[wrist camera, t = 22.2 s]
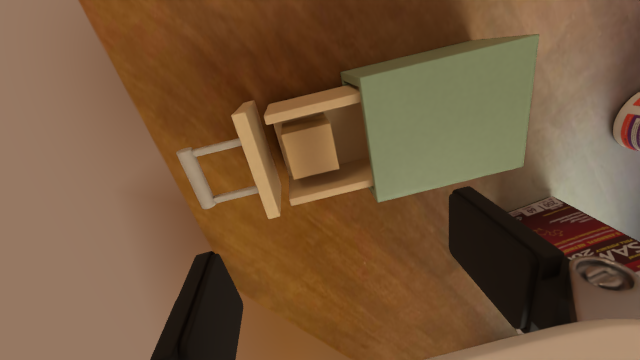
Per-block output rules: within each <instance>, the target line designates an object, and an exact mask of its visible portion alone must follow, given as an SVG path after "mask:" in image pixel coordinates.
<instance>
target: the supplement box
mask: <svg viewBox="0 0 640 360" xmlns="http://www.w3.org/2000/svg"><path fill="white" fill-rule="evenodd" d="M509 214H510V215H511V216H513V217H514V218H516V219H517V220H519V221H520V222H521V223H523V224H524V225H526V226H527V227H529V228H530V229H531V230H533V231H534V232H536V233H537V234H538V235H540V236H541V237H543V238H544V239H546V240H547V241H548V242H550V243H551V244H553V245H554V246H556V247H557V248H558V249H560V250H561V251H563V252H564V255H565V256H566V257H568V258H569V259H570V260H572V259H573V258H576V257H578V256H587V255H589V256H599V257H603V258H607V259H611V260H613V261H616V262H618V263H621V264H623V265H624V266H626V267H628V268H630V269H631V270H633V271H634V272H635V273H636V274H637V275H639V277H640V242H639V241H637V240H635V239H633V238H631V237H629V236H627V235H625V234H623V233H622V232H620V231H618V230H616V229H614V228H612V227H610V226H608V225H606V224H604V223H602V222H601V221H599V220H597V219H595V218H593V217H591V216H589V215H587V214H585V213H583V212H581V211H580V210H578V209H576V208H574V207H572V206H570V205H568V204H566V203H564V202H562V201H561V200H558V199H557V198H555V197H553V196H552V197H549V198H547V199H544V200H542V201H539V202H536V203H534V204H531V205H528V206H526V207H523V208H520V209H517V210H515V211H512V212H509Z"/></svg>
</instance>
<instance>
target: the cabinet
mask: <svg viewBox="0 0 640 360" xmlns="http://www.w3.org/2000/svg"><path fill="white" fill-rule="evenodd" d="M538 40H539V34H533V35H522V36H512V37H501V38H491V39H480V40H471V41H467V42H463V43H459V44H455V45H450V46H446V47H442V48H438V49H434V50H430V51H426V52H422V53H417V54H413V55H409V56H405V57H401V58H397V59H393V60H389V61H385V62H380V63H376V64H372V65H368V66H364V67H360V68H356V69H352V70H348V71H343V72H340V74H341V80H342V85H343V86H346V85H350V84H353V85H356V86H358V87H359V91H360V98H361V105H362V112H363V118H364V125H365V132H366V139H367V146H368V152H369V159H370V166H371V173H372V179H373V186H370V187H368V188H369V189H370V191H371V193H372V194H373V196H374V197H375V199H376V200H377V202H382V201H386V200H390V199H394V198H398V197H402V196H406V195H410V194H414V193H418V192H422V191H426V190H430V189H434V188H438V187H442V186H446V185H450V184H454V183H459V182H463V181H467V180H471V179H475V178H479V177H483V176H487V175H491V174H495V173H499V172H503V171H507V170H511V169H515V168H519V167H523V165H524V156H525V148H526V140H527V131H528V123H529V115H530V107H531V98H532V90H533V82H534V73H535V65H536V57H537V49H538Z"/></svg>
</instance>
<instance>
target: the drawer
mask: <svg viewBox="0 0 640 360" xmlns="http://www.w3.org/2000/svg"><path fill="white" fill-rule="evenodd" d="M320 114H325V116H326V117H327V119H328V121H329V122H330V124H331V129H332V134H333V139H334V144H335V149H336V154H337V159H338V164H339V169H335V170H331V171H327V172H323V173H319V174H315V175H311V176H307V177H303V178H299V179H295V180H294V179H293V176H292V172H291V169H290V165H289V162H288V158H287V155H286V151H285V148H284V144H283V141H282V137H281V129H282V124H283V123H287V122H291V121H295V120H300V119H304V118H308V117H312V116H316V115H320ZM231 117H232V119H233V122H234V125H235V128H236V131H237V133H238V136H239V138H238V139H234V140H230V141H226V142H222V143H218V144H214V145H209V146H205V147H201V148H197V149H194V150H193V149H192V148H191V147H189V148H184V149H182V150H179V151H178V152H176V154H177V156H178V158H179V160H180V162H181V164H182V167H183V169H184V171H185V173H186V175H187V177H188V179H189V181H190V183H191V185H192V187H193V190H194V192H195V194H196V196H197V198H198V200H199V202H200V204H201V206H202V208H203V209H209V208H211V207H213V206H214V205H216V203H219V202H223V201H227V200H231V199H235V198H239V197H243V196H247V195H251V194H255V193H259V194H260V197H261V200H262V203H263V205H264V208H265V211H266V214H267V217H268V219H271V218H275V217H279V216H280V207H281V183H280V180H279V177H278V174H277V170H276V167H275V164H274V161H273V158H272V155H271V151H270V148H269V145H268V142H267V139H266V136H265V132H264V129H263V126H262V123H261V120H260V117H259V113H258V110H257V107H256V104H255V101H254V100H253V101H249V102H245V103H243V104H242V105H241V106H240V107H239V108H238V109H237V110H236V111H235V112H234V113H233V114H232V115H231ZM264 119H265V123H266V125H269V124H274V128H275V131H276V135H277V138H278V141H279V145H280V148H281V151H282V155H283V158H284V162H285V165H286V168H287V172H288V175H289V200H290V204H291V206H293V205H297V204H301V203H305V202H309V201H314V200H318V199H322V198H326V197H330V196H334V195H338V194H342V193H346V192H350V191H354V190H358V189H362V188H366V187H370V186H373V179H372V173H371V166H370V159H369V152H368V146H367V139H366V132H365V125H364V118H363V112H362V105H361V98H360V91H359V87H358V86H356V85H353V84H350V85H346V86H342V87H338V88H334V89H330V90H326V91H321V92H317V93H313V94H309V95H305V96H301V97H297V98H293V99H289V100H284V101H280V102H276V103H272V104H269V105H268V107H267V110H266V112H265V114H264ZM238 146H242V147H243V150H244V153H245V156H246V158H247V161H248V164H249V167H250V169H251V172H252V175H253V178H254V181H255V183H256V186H252V187H248V188H244V189H240V190H236V191H232V192H228V193H224V194H220V195H216V196H213V194H212V191H211V189H210V187H209V185H208V183H207V180H206V178H205V176H204V174H203V171H202V169H201V167H200V165H199V162H198V160H197V158H196V157H197V156H201V155H205V154H209V153H213V152H217V151H221V150H225V149H230V148H234V147H238Z"/></svg>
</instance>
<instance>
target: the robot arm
mask: <svg viewBox="0 0 640 360" xmlns="http://www.w3.org/2000/svg"><path fill="white" fill-rule="evenodd" d="M449 249H450V252H451V254H452V255H453V257H454V258H455V259H456V260H457V261H458V263H459V264H460V265H461V266H462V267H463V269H464V270H465V271H466V272H467V273H468V274H469V276H470V277H471V278H472V279H473V280H474V282H475V283H476V284H477V285H478V286H479V287H480V289H481V290H482V291H483V292H484V293H485V295H486V296H487V297H488V298H489V299H490V300H491V302H492V303H493V304H494V305H495V306H496V308H497V309H498V310H499V311H500V312H501V313H502V315H503V316H504V317H505V318H506V319H507V321H508V322H509V323H510V324H511V325H512V326H513V327H514V328H515V329H520V330H521V331H522V332H523V333H524V334H522V335H517V336H513V337H509V338H505V339H501V340H498V341H494V342H490V343H486V344H482V345H478V346H475V347H471V348H467V349H463V350H459V351H455V352H452V353H448V354H444V355H440V356H436V357H432V358H429V359H425V360H640V277H639V275H637V274H636V273H635V272H634V271H633V270H631V269H630V268H628V267H626V266H624V265H623V264H621V263H618V262H616V261H613V260H611V259H607V258H603V257H599V256H589V255H587V256H578V257H576V258H573V259H572V260H570V259H569V258H568V257H566V256H565V255H564V252H563V251H561V250H560V249H558V248H557V247H556V246H554V245H553V244H551V243H550V242H548V241H547V240H546V239H544V238H543V237H541V236H540V235H538V234H537V233H536V232H534V231H533V230H531V229H530V228H529V227H527V226H526V225H524V224H523V223H521V222H520V221H519V220H517V219H516V218H514V217H513V216H511V215H510V214H509V213H507V212H506V211H504V210H503V209H501V208H500V207H499V206H497V205H496V204H494V203H493V202H492V201H490V200H489V199H487V198H486V197H484V196H483V195H482V194H480V193H479V192H477V191H476V190H474V189H473V188H472V187H470V186H467V187H463V188H459V189H455V190H454V191H453V192H452V194H451V195H450V196H449ZM242 312H243V303H242V300H241V298H240V295H239V293H238V291H237V289H236V287H235V285H234V283H233V281H232V279H231V277H230V275H229V273H228V271H227V269H226V267H225V265H224V263H223V261H222V259H221V257H220V255H219V254H215V253H214V252H213V251H210V252H207V253H203V254H199V255H196V257H195V259H194V261H193V264H192V266H191V269H190V271H189V273H188V275H187V278H186V280H185V282H184V285H183V287H182V289H181V291H180V294H179V296H178V298H177V300H176V301H175V304H174V306H173V308H172V311H171V313H170V315H169V318H168V320H167V322H166V324H165V327H164V329H163V331H162V334H161V336H160V338H159V341H158V343H157V345H156V348H155V350H154V352H153V354H152V357H151V359H150V360H235V359H236V352H237V346H238V339H239V333H240V325H241V320H242Z"/></svg>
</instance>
